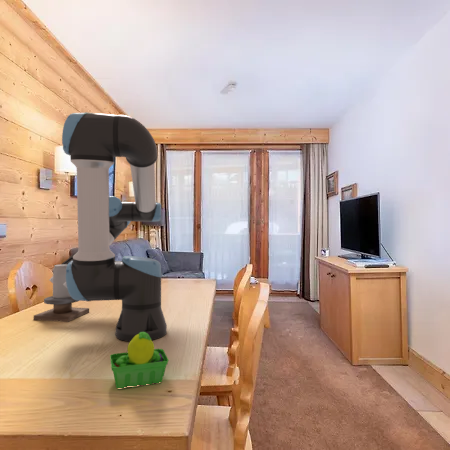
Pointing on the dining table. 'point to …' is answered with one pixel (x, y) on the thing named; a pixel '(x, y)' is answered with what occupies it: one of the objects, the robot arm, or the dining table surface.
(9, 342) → the dining table surface
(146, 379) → the fruit basket
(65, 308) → the pedestal stand
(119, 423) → the dining table surface
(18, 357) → the dining table surface
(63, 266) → the beverage can
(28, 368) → the dining table surface
